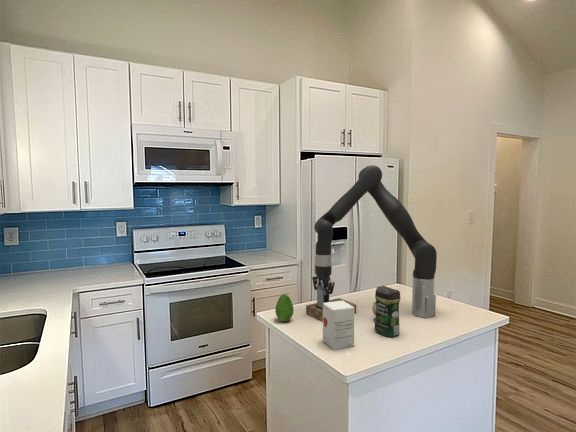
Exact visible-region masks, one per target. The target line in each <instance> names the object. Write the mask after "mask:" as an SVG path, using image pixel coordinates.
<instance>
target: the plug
mask: <svg viewBox="0 0 576 432" xmlns="http://www.w3.org/2000/svg"><path fill="white" fill-rule="evenodd" d="M316 287H317V290H316V303H317V306H319V307H321V308H323V303H324V290H323V286H322V285H320V284H316ZM327 287H328V286H326V287H325V288H327ZM326 292H327V289H326Z"/></svg>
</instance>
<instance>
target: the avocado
mask: <svg viewBox="0 0 576 432" xmlns="http://www.w3.org/2000/svg"><path fill="white" fill-rule="evenodd" d="M274 310H275V311H274V313H275V315H276V317H277V319H278V320H279V321H280V322H287V321H289V320H291V318H292V316H293V315H294V312H295V311H294V305H293V302H292V300H291V298H290V296H289V295H287V294H286V293H285V294H284V293H282V294H281V295H280V296H279V298H278V300H277V302H276V304H275V309H274Z"/></svg>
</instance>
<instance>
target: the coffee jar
mask: <svg viewBox="0 0 576 432" xmlns="http://www.w3.org/2000/svg"><path fill="white" fill-rule="evenodd" d="M374 297H375V301H376V316H375V317H374V319H375V321H374V330H375V332H377V333H378V334H380V335H383V336H385V337H387V338H388V337H391V338H392V337H393V338H394V337H397V336H398V335H399V334H400V332H401V331H400V329H401V328H400V310H399V309H400V302H401V292H400V290H398V289H395V288H392V287H388V286H386V285H381V286H377V287H376V288H375V294H374Z"/></svg>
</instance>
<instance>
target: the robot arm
mask: <svg viewBox="0 0 576 432" xmlns="http://www.w3.org/2000/svg"><path fill="white" fill-rule="evenodd" d="M382 179H383V171H382V169H381V168H380V167H379V166H377V165H373V164H372V165H367V166H366V167H364V168H362V169H361V170H360V171H359V174H358V179H357V181H356V182H355V183H354V184H353V185H352V186H351V187H350V189H348V190H347V191H346V193H344V194H342V196H341V197H340V198H339V199H338V200H337V201H336V202H335V203H334V204H333V205H332V206H331V208H330V209H329V210H328V211H326V212H325V213H324V214H323V215H321V217H319V218H318V220H317V221H315V224H314V231H315V232H316V234H317V241H316V243H315V255H314V274H315V275H316V276H312V277H311V278H312V283H313V289H314V290H315V291H317V284H320V285H322V286H323V290H324V303H326V302H329V300H330V295H333V292H334V288H335V284H336V283H335V281H332V280H331V275H332V274H333V273H332V267H333V266H332V265H333V264H332V263H333V261H332V243H333V241H332V240H333V237H334V236H333V235H334V227H333V226H334V225H335V224H337V223H338V222H341V221H342V220H343V219H344V218H345V217H346V215H348V214H349V212H350V211H351V210H352V209H353V207H354V206H355V205H356V204H357V203H358V202H359V200H360V199H362V198H363V196H364V195H366V194H367V193H368V194H369V195H370V196H371V197H372V199H373V200H374V201H375V203H376V204H377V206H378V208H379V210H381V212H382V214H383V215H384V216H385V218H386V220H387V221H388V222H389V225H391V226H392V228H393V229H394V230H395V231H396V232H397V234H399V235H400V237H401V238H402V239H403V240H404V242H405V243H406V245H407V247H408V249H409V251H410V253H411V254H412V255H413V257H414V269H413V271H412V290H411V291H412V293H411V295H412V296H411V297H412V299H411V300H412V301H411V314H412V315H413V316H415V317H418V318H419V317H420V318H425V319H428V318H431V317H435V316H436V306H437V305H436V304H437V301H436V300H437V299H436V297H437V296H436V294H435V274H436V271H437V257H438V256H437V255H438V253H437V250H436V248H435V246H434V245H433V244H431V243H429V242H428V241H427V240H426V239H425V238H424V237H423V236H422V235H421V233H420V232H419V231H418V229H417V227H416V226H415V223H414V221H413V219H412V217H411V215H410V213H409V212H408V210H407V208H405V206H404V205H403V203H402V202H401V201H400V200H399V199H398V198H397V197H396V196H394V195H393V194H392V193H391V192H389V190H387V188H386V187H385V185H384V184H383V183H382ZM326 286H328V287H327V288H325V287H326ZM326 289H327V292H326Z"/></svg>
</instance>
